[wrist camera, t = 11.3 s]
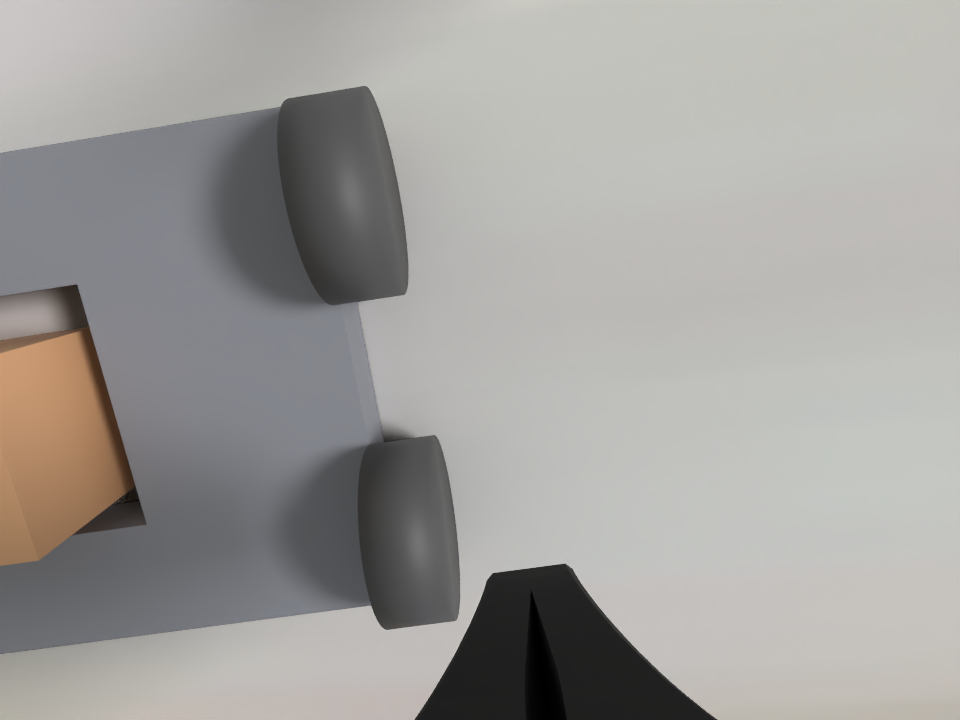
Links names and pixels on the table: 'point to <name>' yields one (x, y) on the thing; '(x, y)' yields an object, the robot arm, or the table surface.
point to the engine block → (55, 442)
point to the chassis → (231, 376)
